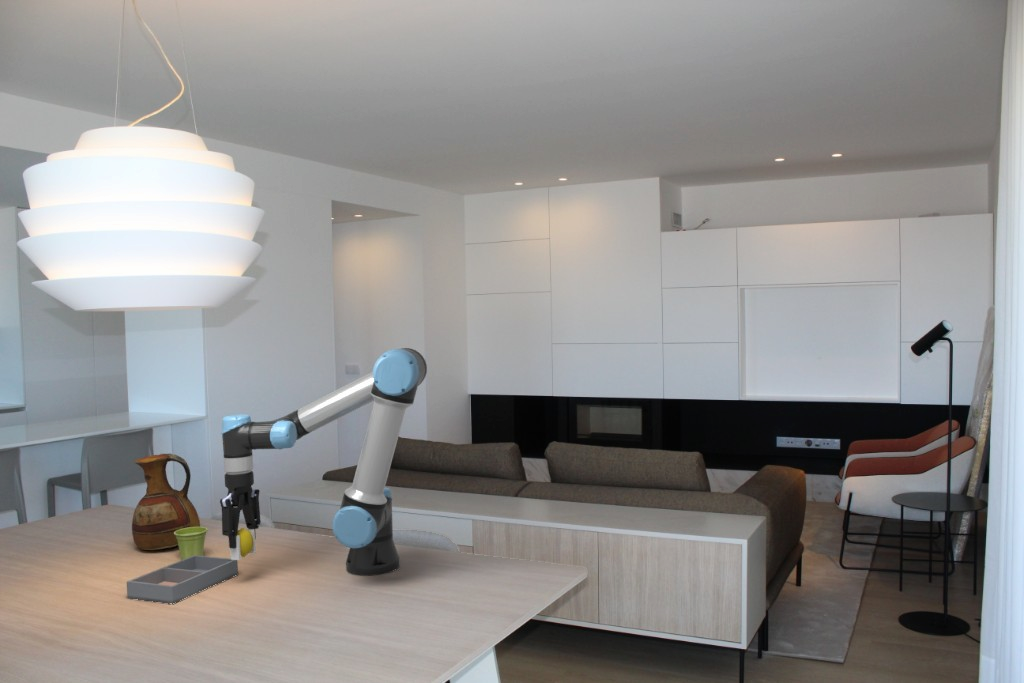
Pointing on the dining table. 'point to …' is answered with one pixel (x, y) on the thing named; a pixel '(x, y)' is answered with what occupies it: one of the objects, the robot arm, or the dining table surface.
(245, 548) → the lemon
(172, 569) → the sorting tray
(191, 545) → the plant pot
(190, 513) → the ceramic pitcher
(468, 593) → the dining table surface
